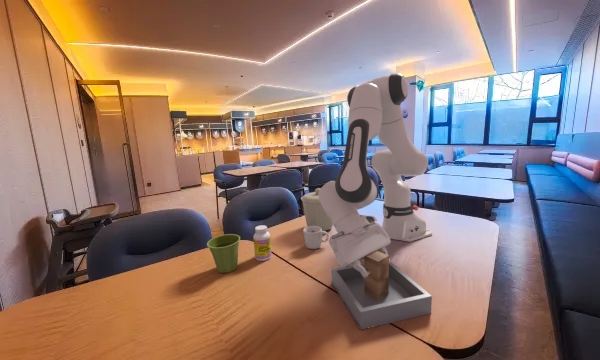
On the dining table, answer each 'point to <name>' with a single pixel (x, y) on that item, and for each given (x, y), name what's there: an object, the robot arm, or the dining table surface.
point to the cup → (314, 237)
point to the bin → (394, 307)
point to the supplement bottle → (262, 243)
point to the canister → (315, 211)
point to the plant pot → (225, 252)
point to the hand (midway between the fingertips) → (378, 269)
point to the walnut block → (377, 275)
